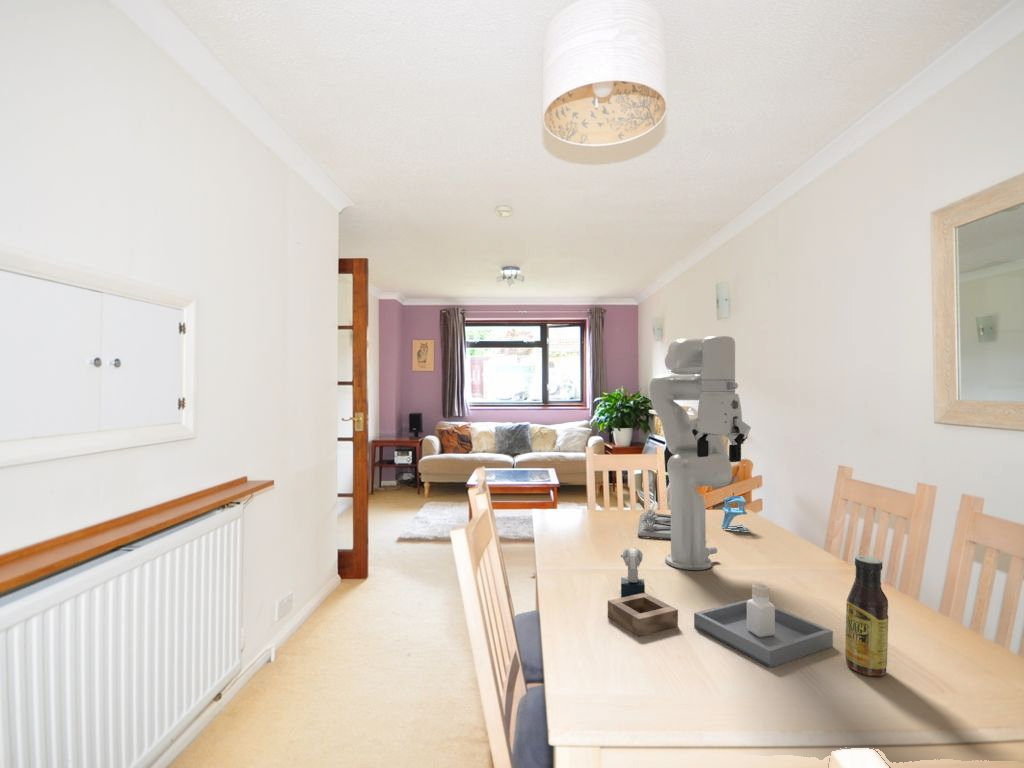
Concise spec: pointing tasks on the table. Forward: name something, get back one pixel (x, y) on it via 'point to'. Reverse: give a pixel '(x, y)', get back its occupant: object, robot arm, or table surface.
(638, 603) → the shaker holder
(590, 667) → the table surface
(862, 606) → the sauce bottle
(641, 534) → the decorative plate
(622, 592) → the watch
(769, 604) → the salt shaker
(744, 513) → the chair
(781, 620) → the tray
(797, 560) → the table surface
